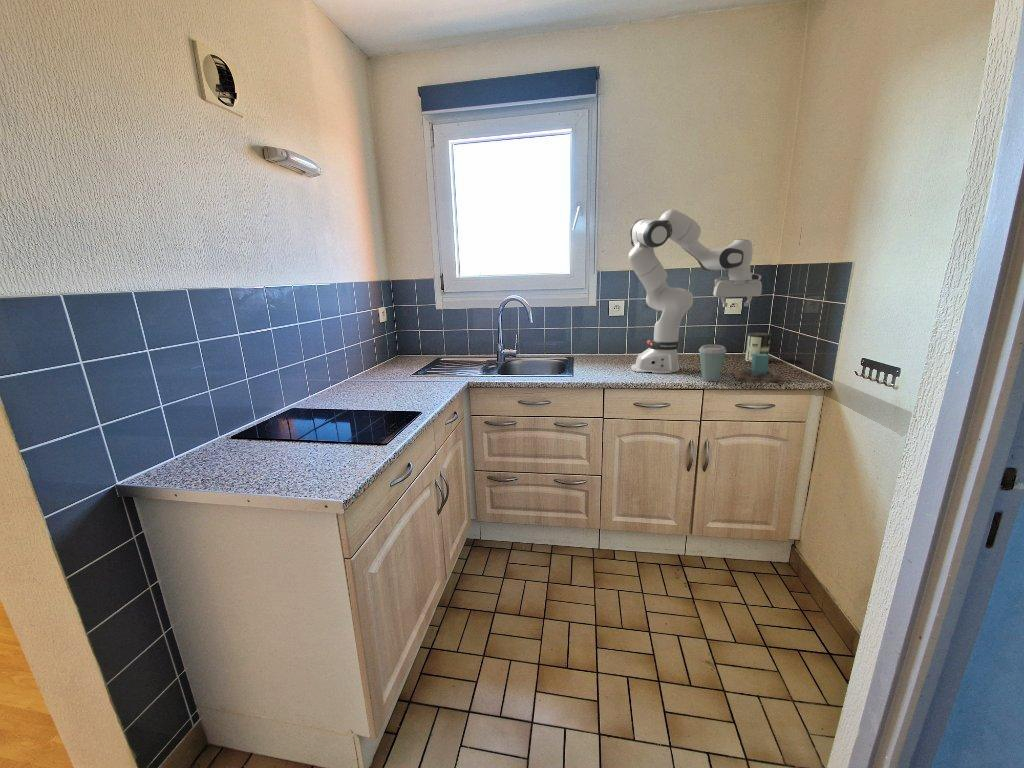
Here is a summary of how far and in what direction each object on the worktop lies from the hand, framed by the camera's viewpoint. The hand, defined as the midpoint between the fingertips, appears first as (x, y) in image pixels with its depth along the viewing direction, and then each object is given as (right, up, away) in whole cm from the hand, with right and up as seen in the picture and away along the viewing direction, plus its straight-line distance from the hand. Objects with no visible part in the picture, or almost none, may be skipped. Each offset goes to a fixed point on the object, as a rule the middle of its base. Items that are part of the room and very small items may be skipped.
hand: (735, 306), depth 193 cm
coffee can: (+20, -25, +18) cm, 37 cm away
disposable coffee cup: (-19, -35, -15) cm, 43 cm away
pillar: (+2, -33, -15) cm, 36 cm away
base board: (+2, -34, -15) cm, 37 cm away
